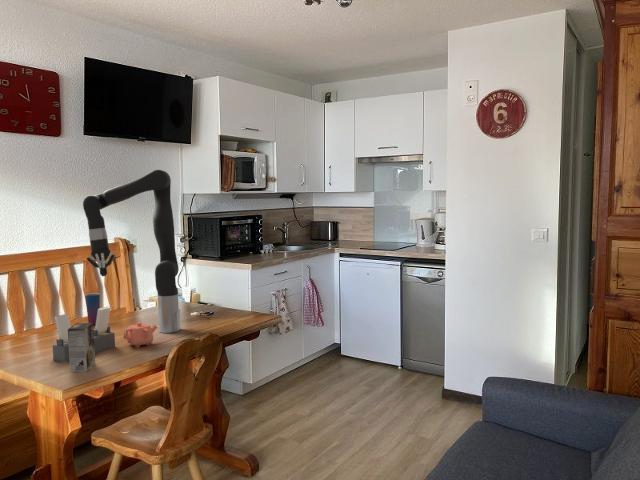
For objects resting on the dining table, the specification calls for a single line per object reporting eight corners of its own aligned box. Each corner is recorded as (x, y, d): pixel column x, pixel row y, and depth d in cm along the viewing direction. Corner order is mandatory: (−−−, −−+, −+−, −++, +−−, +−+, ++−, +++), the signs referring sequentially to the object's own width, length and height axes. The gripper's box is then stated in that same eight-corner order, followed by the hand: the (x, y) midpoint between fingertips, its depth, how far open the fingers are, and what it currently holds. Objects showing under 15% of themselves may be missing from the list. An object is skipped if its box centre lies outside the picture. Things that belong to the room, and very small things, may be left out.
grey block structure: (53, 359, 211) (52, 338, 211) (103, 344, 233) (102, 325, 232) (65, 362, 208) (63, 340, 207) (115, 346, 229) (114, 326, 228)
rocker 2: (94, 333, 225) (97, 308, 223) (104, 330, 229) (107, 306, 227) (96, 335, 224) (100, 310, 222) (106, 332, 229) (110, 307, 226)
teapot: (158, 341, 237) (157, 319, 236) (148, 348, 225) (147, 325, 224) (132, 341, 237) (131, 319, 236) (121, 348, 225) (120, 325, 225)
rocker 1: (60, 344, 211) (54, 316, 211) (71, 341, 215) (65, 314, 216) (63, 343, 210) (56, 315, 211) (74, 340, 214) (68, 313, 215)
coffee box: (78, 364, 205) (76, 322, 204) (95, 363, 205) (93, 322, 204) (69, 372, 196) (66, 328, 194) (87, 371, 196) (85, 328, 195)
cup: (104, 322, 273) (102, 293, 271) (94, 326, 266) (93, 296, 265) (93, 322, 275) (91, 293, 274) (83, 325, 269) (81, 295, 267)
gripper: (80, 240, 243) (86, 278, 244) (110, 237, 243) (116, 275, 244) (86, 240, 250) (92, 277, 251) (115, 236, 251) (121, 273, 252)
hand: (104, 275), depth 248 cm, fingers closed
